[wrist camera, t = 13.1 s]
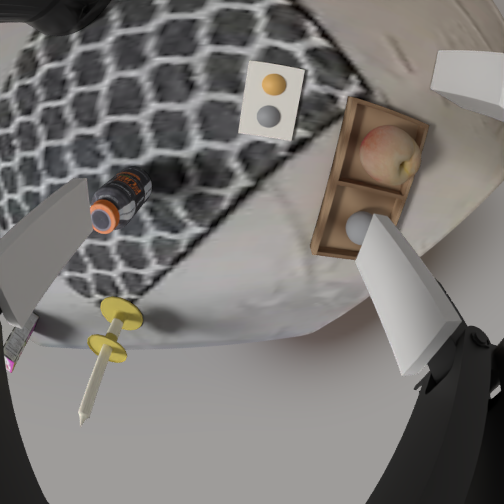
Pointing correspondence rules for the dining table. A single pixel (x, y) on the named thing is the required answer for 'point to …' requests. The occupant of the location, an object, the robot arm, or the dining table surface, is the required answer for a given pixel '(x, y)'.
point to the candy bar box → (18, 342)
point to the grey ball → (358, 226)
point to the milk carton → (471, 80)
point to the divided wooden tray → (359, 179)
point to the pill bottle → (119, 199)
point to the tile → (271, 100)
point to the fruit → (390, 155)
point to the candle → (108, 345)
